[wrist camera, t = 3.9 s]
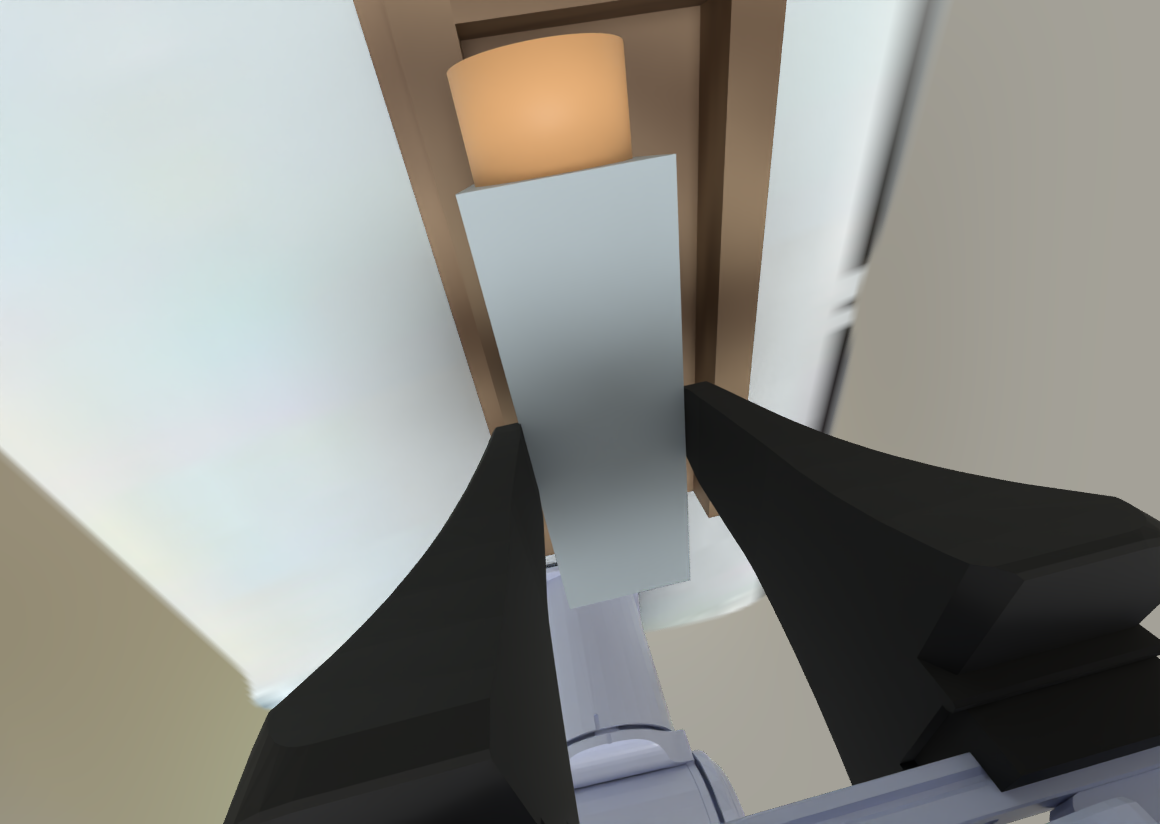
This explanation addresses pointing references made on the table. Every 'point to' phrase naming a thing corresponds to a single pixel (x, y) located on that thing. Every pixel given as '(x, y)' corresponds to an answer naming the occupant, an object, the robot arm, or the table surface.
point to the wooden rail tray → (658, 126)
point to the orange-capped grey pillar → (582, 302)
